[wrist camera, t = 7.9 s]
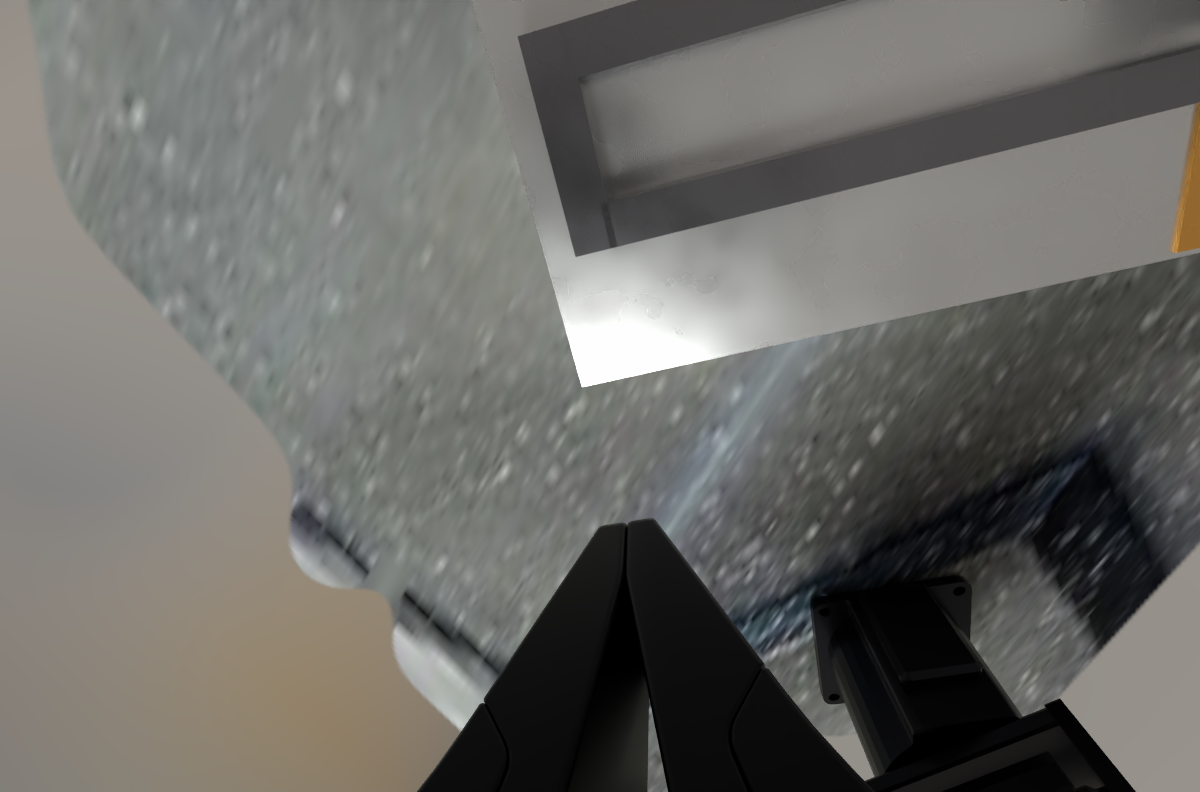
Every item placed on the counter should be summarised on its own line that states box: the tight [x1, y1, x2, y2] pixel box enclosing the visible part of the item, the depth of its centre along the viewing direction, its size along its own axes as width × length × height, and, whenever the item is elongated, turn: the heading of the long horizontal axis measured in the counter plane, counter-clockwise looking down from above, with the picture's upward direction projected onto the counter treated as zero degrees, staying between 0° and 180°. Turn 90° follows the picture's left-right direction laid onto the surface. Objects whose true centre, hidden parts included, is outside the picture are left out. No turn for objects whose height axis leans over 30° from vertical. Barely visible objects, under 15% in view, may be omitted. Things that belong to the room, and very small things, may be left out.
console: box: [472, 0, 1200, 387], centre depth 15 cm, size 14×24×3 cm, turn 104°
